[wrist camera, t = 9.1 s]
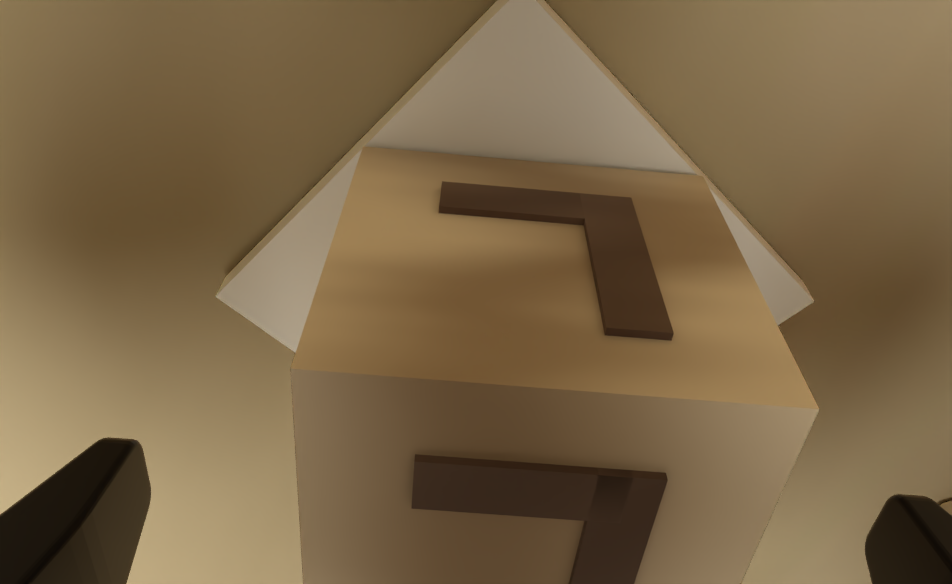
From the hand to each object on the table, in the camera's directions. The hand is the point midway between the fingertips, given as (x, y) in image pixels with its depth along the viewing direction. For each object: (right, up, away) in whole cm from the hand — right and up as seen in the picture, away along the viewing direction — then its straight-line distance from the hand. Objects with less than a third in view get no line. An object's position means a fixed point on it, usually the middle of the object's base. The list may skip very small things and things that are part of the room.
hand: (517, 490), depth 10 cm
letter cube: (0, +2, +3) cm, 4 cm away
